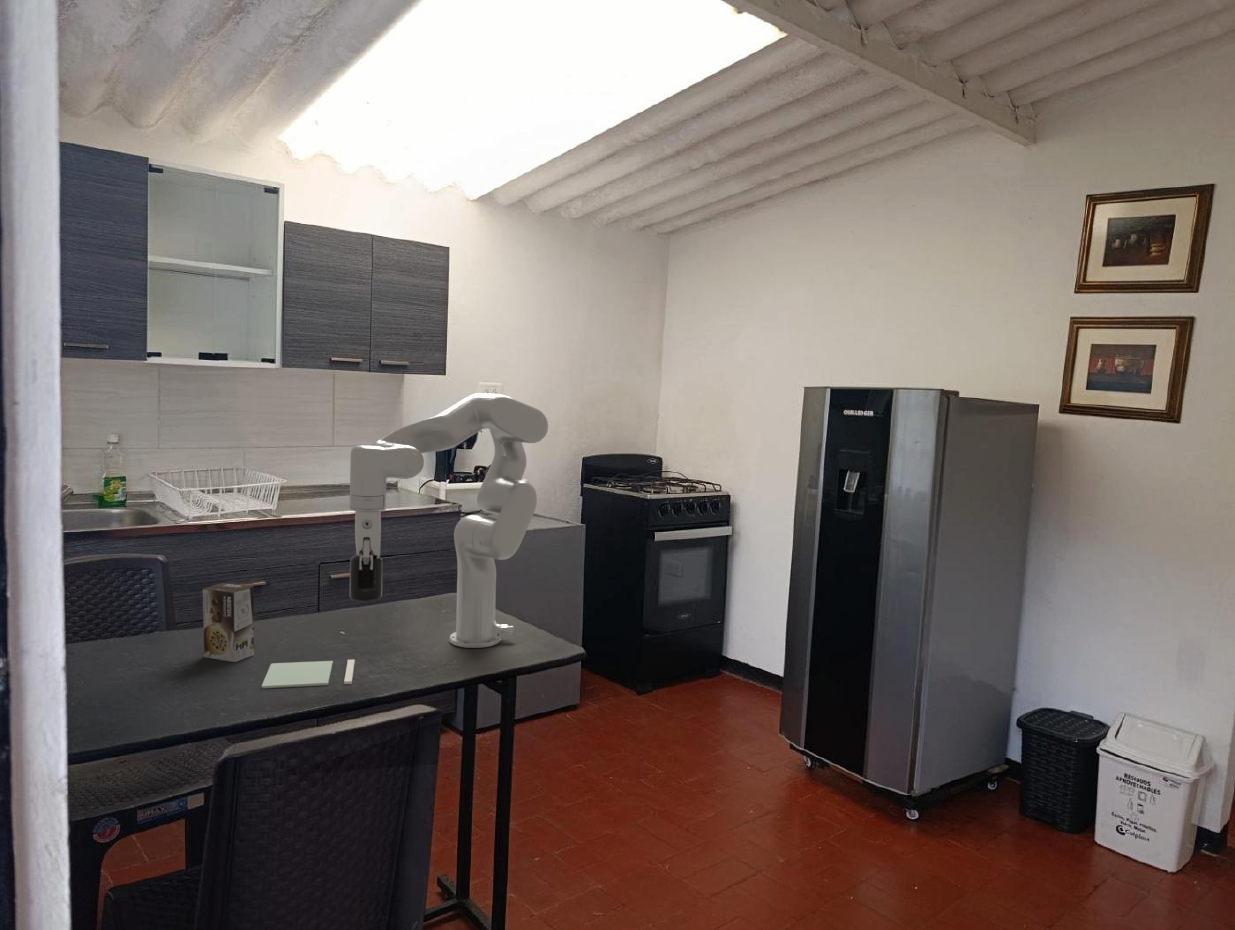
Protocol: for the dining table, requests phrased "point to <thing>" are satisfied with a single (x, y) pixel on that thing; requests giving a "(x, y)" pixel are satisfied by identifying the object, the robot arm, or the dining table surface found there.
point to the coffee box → (228, 622)
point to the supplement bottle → (356, 592)
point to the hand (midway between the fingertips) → (365, 583)
